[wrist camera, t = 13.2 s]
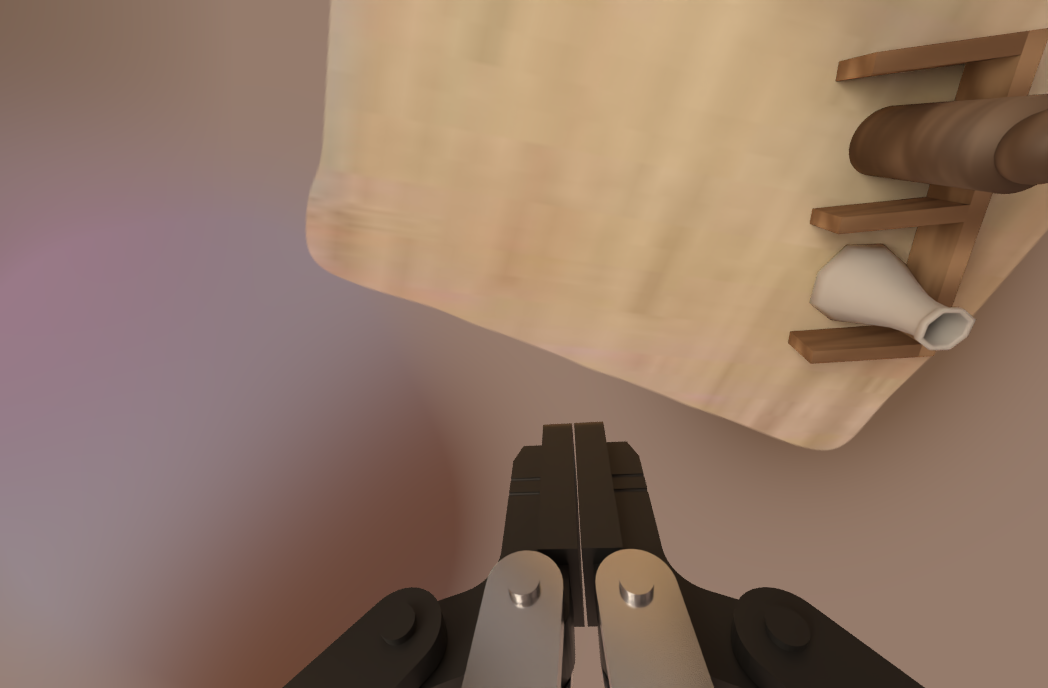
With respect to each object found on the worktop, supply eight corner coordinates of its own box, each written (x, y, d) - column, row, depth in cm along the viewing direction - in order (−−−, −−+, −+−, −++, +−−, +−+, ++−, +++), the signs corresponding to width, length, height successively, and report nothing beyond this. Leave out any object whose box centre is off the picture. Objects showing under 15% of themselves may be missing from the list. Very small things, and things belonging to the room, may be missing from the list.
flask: (840, 231, 35) (936, 264, 26) (919, 255, 36) (1039, 296, 27) (792, 307, 38) (863, 361, 30) (864, 329, 39) (955, 387, 30)
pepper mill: (856, 110, 31) (1050, 96, 19) (927, 101, 31) (1174, 81, 18) (842, 178, 33) (1009, 206, 21) (909, 171, 33) (1119, 195, 21)
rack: (839, 61, 30) (877, 52, 26) (991, 40, 29) (1051, 27, 25) (788, 342, 40) (810, 363, 36) (899, 335, 39) (934, 355, 35)
